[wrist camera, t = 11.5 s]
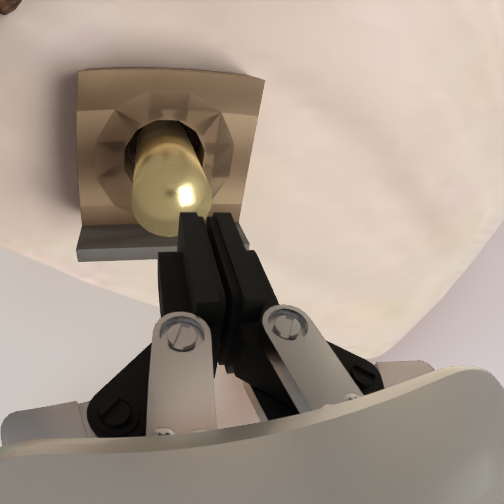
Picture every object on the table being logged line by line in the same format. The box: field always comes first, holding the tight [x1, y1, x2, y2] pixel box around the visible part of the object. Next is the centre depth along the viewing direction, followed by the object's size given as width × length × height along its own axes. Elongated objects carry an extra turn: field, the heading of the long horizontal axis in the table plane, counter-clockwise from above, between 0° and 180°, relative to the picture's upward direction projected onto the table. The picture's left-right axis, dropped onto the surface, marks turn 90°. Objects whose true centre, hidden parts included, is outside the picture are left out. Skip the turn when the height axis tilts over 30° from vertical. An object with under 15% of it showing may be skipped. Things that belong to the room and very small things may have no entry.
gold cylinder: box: [132, 120, 212, 237], centre depth 19 cm, size 4×4×10 cm
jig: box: [76, 67, 265, 262], centre depth 20 cm, size 12×12×6 cm
